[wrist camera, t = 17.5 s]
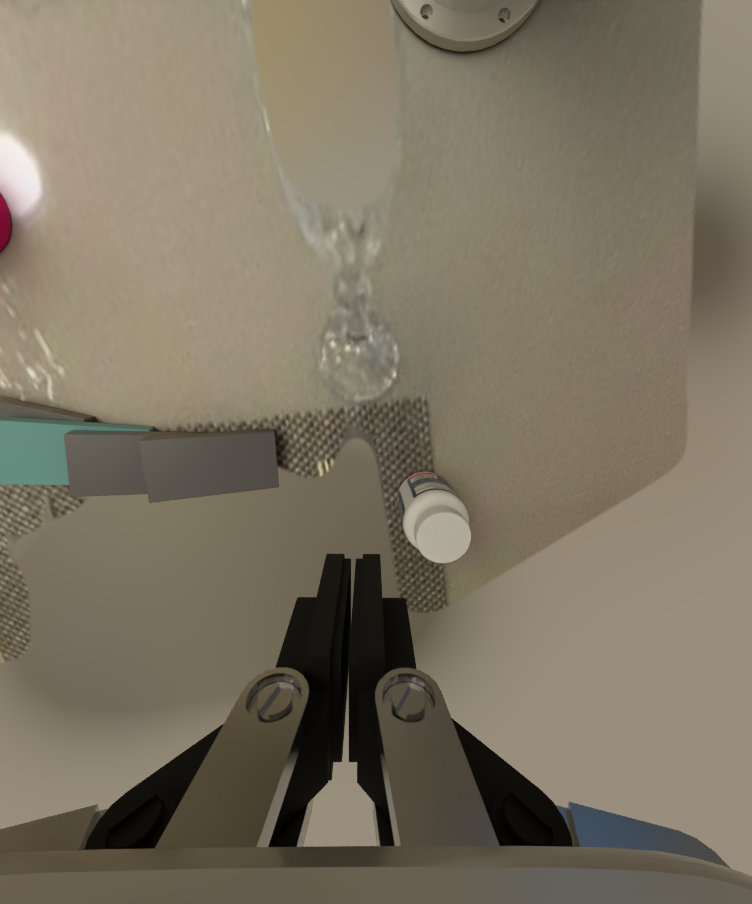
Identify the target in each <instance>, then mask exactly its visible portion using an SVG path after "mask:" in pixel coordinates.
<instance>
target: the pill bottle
mask: <svg viewBox="0 0 752 904" xmlns="http://www.w3.org/2000/svg"><path fill="white" fill-rule="evenodd" d="M397 505H398V509H399V514H400V518H401V522H402V525H403V529H404V532H405V534H406V536H407V538H408V540H409V541H410V542H411V544H412V545H414V546H415V547H416V548H418V549H419V551H420V552H421V554H422V555H423V556H424V557H425V558H427V559H428V560H431V561H433V562H436V563H448V562H452V561H455V560H457V559H458V558H460V557H461V556H462V555H463V554H464V553H465V552H466V551H467V549H468V547H469V545H470V542H471V531H470V527H469V517H468V512H467V510H466V508H465V506H464V504H463V503H462V501H461V500H460V499H459V497H458V496H457V495H456V493H455V492H454V491H453V489H452V488H451V487H450V485H449V484H448V483H447V482H446V481H445V479H443V478H442V477H441V476H439V475H438V474H435V473H432V472H418V473H415V474H413V475H411V476H410V477H408V478H407V479H406V480H405V481H404V482H403V483H402V485H401V486H400V488H399V491H398V494H397Z"/></svg>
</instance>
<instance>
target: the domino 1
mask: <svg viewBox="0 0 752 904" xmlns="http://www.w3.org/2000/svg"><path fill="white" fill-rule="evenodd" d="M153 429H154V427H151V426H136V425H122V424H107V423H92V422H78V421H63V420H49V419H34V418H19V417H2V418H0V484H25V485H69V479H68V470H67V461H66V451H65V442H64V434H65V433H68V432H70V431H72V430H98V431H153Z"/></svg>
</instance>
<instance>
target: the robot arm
mask: <svg viewBox="0 0 752 904" xmlns="http://www.w3.org/2000/svg"><path fill="white" fill-rule="evenodd" d="M391 2H392V4H393V6H394V7H395V9H396V10H397V12H398V13H399V15H400V16H401V18H402V19H403V21H404V22H405V23H406V24H407V25H408V26H409V27H410V28H411V29H412V30H413V31H414V32H415V33H416V34H418V35H419V36H420V37H422V38H423V39H425V40H426V41H428V42H429V43H431V44H434V45H436V46H438V47H441V48H443V49H447V50H453V51H460V52H463V51H477V50H480V49H483V48H486V47H490V46H493V45H495V44H496V43H498V42H500V41H502V40H503V39H505V38H507V37H508V36H510V35H511V34H512V33H513V32H514V31H515V30H516V29H518V28H519V27H520V26H521V25H522V24H523V23H524V22H525V20H526V19H527V18H528V17H529V15H530V14H531V13H532V12H533V10H534V9H535V7H536V5H537V3H538V2H539V0H391ZM348 670H349V762H357V783H358V784H359V785H360V786H361V787H362V789H363V790H364V791H365V792H366V793H367V795H368V796H369V797H370V798H371V799H372V801H373V817H374V825H375V833H376V840H377V846H363V847H362V846H361V847H360V846H352V847H351V846H350V847H349V846H347V847H303V844H304V840H305V836H306V832H307V828H308V824H309V820H310V816H311V812H312V804H313V798H314V797H315V795H316V794H317V793H318V792H319V791H320V790H321V789H322V788H323V787H324V786H325V785H326V784H327V783H328V780H332V770H333V762H342V754H343V740H344V725H345V712H346V711H345V710H346V698H347V684H348ZM0 904H752V876H749V875H747V874H744V873H742V872H739V871H736V870H733V869H731V868H730V867H729V866H728V865H727V864H726V863H725V862H724V861H723V860H722V859H721V858H720V857H719V856H718V855H717V854H716V853H715V852H714V851H713V850H712V849H710V848H709V847H708V846H706V845H705V844H703V843H702V842H701V841H699V840H698V839H696V838H694V837H692V836H690V835H687V834H685V833H683V832H681V831H678V830H674V829H670V828H667V827H663V826H659V825H655V824H651V823H647V822H644V821H640V820H636V819H632V818H628V817H625V816H621V815H617V814H613V813H609V812H606V811H602V810H598V809H594V808H591V807H587V806H583V805H579V804H575V803H572V802H569V804H568V808H564V807H561V806H557V805H555V804H554V803H553V802H552V800H550V799H549V798H548V797H547V796H546V795H545V794H544V793H543V792H542V791H541V790H540V789H539V788H538V787H536V786H535V785H534V784H533V783H531V782H530V781H529V780H528V779H527V778H525V777H524V776H523V775H522V774H520V773H519V772H518V771H516V770H515V769H514V768H513V767H512V766H510V765H509V764H508V763H507V762H505V761H504V760H503V759H502V758H501V757H499V756H498V755H497V754H496V753H494V752H493V751H492V750H490V749H489V748H488V747H487V746H486V745H484V744H483V743H482V742H481V741H479V740H478V739H477V738H476V737H474V736H473V735H472V734H471V733H469V732H468V731H467V730H466V729H464V728H463V727H462V726H461V725H459V724H458V723H457V722H456V721H454V720H453V719H452V718H451V716H450V713H449V711H448V708H447V705H446V703H445V700H444V698H443V695H442V692H441V690H440V688H439V687H438V685H437V683H436V682H435V681H434V680H433V679H432V678H431V677H430V676H429V675H427V674H426V673H424V672H422V671H420V670H417V669H416V663H415V657H414V650H413V643H412V637H411V630H410V623H409V617H408V610H407V603H406V599H405V598H382V584H381V564H380V554H363V559H356V567H355V580H354V594H353V608H352V621H351V559H344V554H327V555H326V559H325V563H324V568H323V572H322V576H321V581H320V585H319V589H318V594H317V597H313V598H312V597H299V598H297V601H296V604H295V607H294V610H293V614H292V617H291V620H290V623H289V626H288V629H287V633H286V636H285V639H284V642H283V646H282V649H281V652H280V655H279V658H278V662H277V665H276V668H274V669H270V670H266V671H265V672H263V673H261V674H259V675H257V676H256V677H255V678H253V679H252V680H251V681H250V682H249V683H248V684H247V685H246V687H245V688H244V690H243V691H242V692H241V694H240V696H239V698H238V700H237V701H236V703H235V705H234V707H233V709H232V710H231V712H230V714H229V716H228V718H227V719H226V721H225V723H224V724H223V725H221V726H220V727H219V728H217V729H216V730H214V731H213V732H211V733H210V734H208V735H207V736H206V737H204V738H203V739H201V740H200V741H199V742H197V743H196V744H194V745H193V746H191V747H190V748H189V749H187V750H186V751H184V752H183V753H182V754H180V755H179V756H177V757H176V758H174V759H173V760H172V761H170V762H169V763H167V764H166V765H165V766H163V767H162V768H160V769H159V770H158V771H156V772H155V773H153V774H152V775H150V776H149V777H148V778H146V779H145V780H143V781H142V782H141V783H139V784H138V785H136V786H135V787H133V788H132V789H131V790H129V791H128V792H127V793H125V794H124V795H123V796H122V797H121V798H119V799H118V800H117V801H116V802H115V803H113V804H112V805H111V806H110V808H109V809H105V810H101V811H99V808H98V804H97V805H93V806H90V807H85V808H81V809H78V810H74V811H70V812H66V813H62V814H58V815H54V816H50V817H46V818H43V819H39V820H35V821H31V822H27V823H23V824H19V825H15V826H11V827H7V828H4V829H0Z"/></svg>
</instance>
